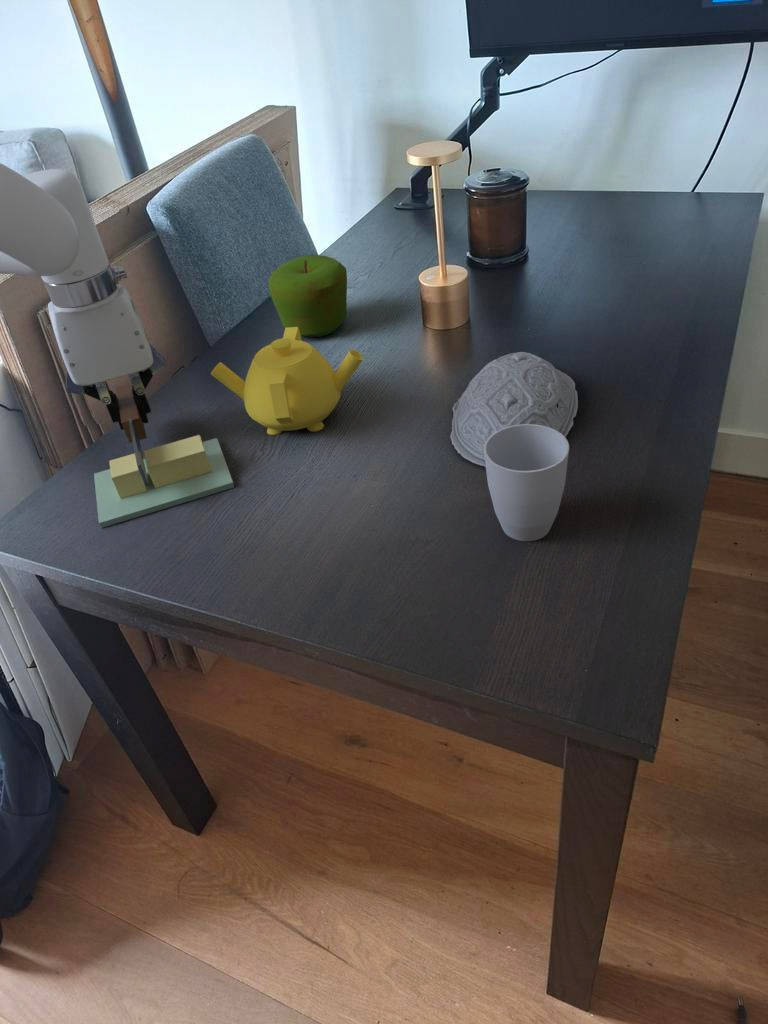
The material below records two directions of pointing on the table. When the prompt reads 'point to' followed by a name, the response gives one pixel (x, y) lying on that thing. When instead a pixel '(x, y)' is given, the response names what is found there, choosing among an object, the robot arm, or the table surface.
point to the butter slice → (126, 476)
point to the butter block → (177, 461)
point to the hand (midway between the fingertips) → (133, 420)
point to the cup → (526, 478)
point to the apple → (310, 294)
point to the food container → (512, 402)
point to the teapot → (290, 384)
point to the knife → (132, 424)
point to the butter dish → (161, 490)
